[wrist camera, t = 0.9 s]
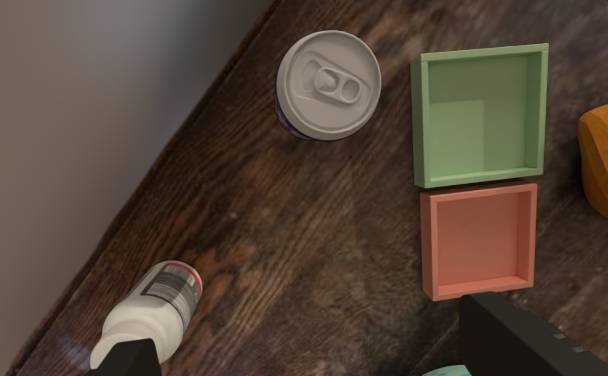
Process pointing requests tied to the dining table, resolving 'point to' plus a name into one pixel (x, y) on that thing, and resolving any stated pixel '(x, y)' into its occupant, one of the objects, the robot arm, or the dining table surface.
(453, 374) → the bowl
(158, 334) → the pill bottle
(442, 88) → the green tray
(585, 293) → the dining table surface
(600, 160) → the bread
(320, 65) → the beverage can
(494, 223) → the coral tray
